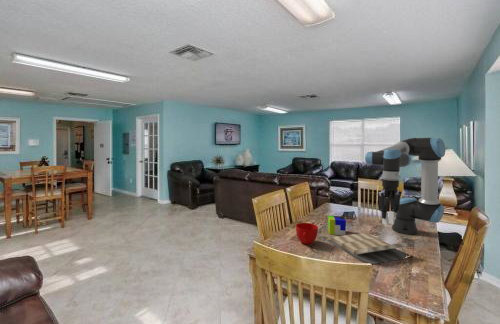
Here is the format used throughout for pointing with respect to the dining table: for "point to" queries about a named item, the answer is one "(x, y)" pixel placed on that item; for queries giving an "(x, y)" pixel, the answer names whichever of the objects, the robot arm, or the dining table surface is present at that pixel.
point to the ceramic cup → (306, 232)
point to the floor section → (366, 241)
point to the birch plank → (380, 248)
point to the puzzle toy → (336, 225)
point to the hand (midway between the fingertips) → (388, 224)
